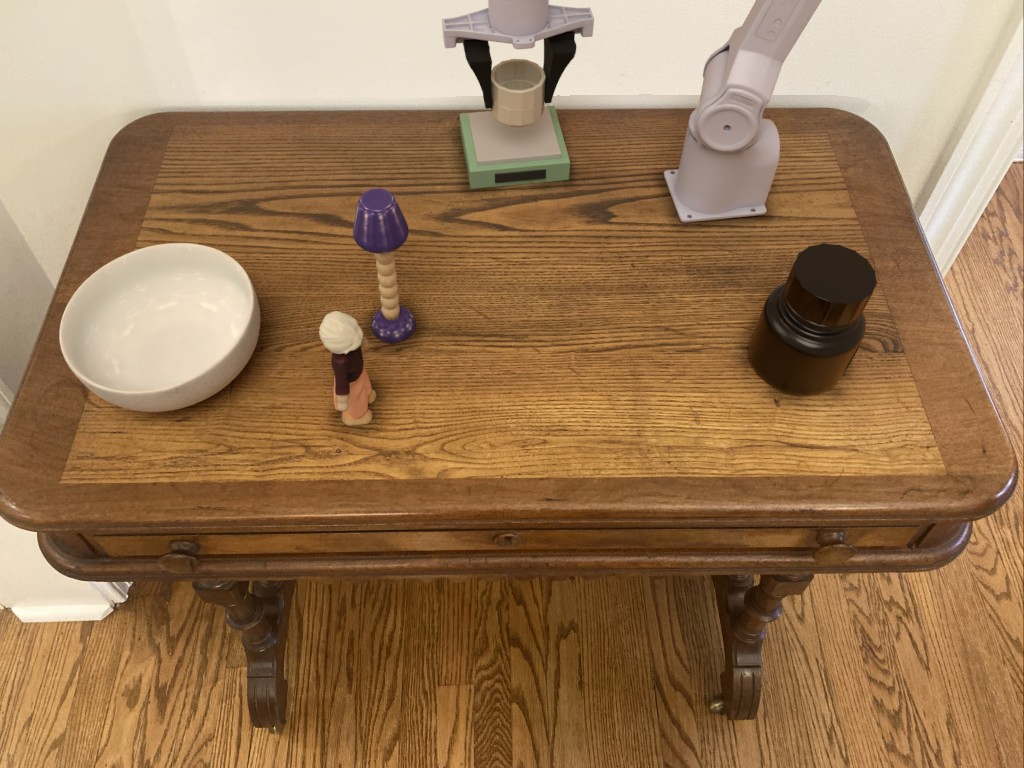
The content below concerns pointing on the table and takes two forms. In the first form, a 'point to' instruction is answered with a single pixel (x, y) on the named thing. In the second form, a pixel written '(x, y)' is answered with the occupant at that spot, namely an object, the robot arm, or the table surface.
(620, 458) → the table surface
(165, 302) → the cereal bowl
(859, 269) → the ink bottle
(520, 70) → the white cup
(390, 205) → the toy lamp
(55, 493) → the table surface
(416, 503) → the table surface
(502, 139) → the scale
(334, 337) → the grandmother figurine
